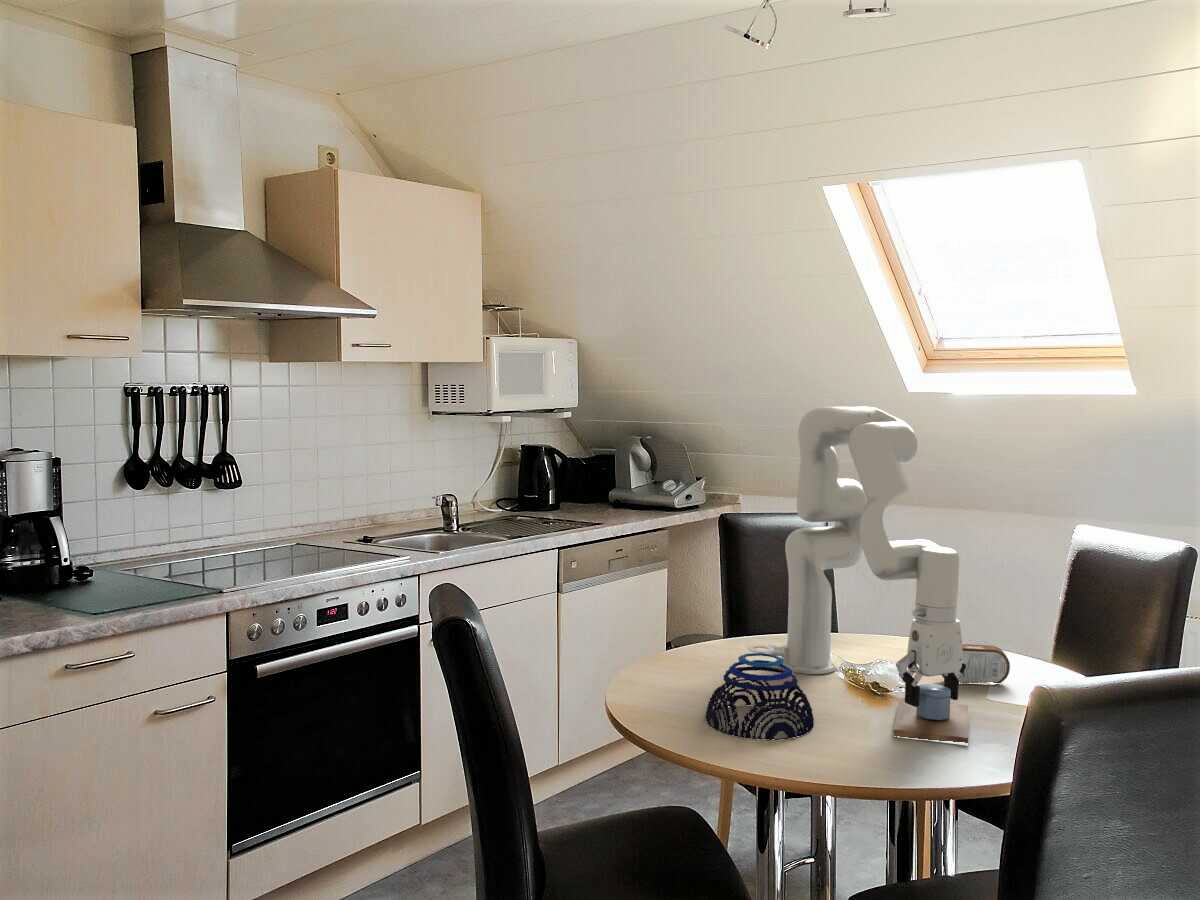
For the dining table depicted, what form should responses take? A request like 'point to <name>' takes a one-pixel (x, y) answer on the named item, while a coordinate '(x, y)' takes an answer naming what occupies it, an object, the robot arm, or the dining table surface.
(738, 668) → the decorative bowl
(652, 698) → the dining table surface
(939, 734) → the post base
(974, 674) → the tin
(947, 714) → the cap
